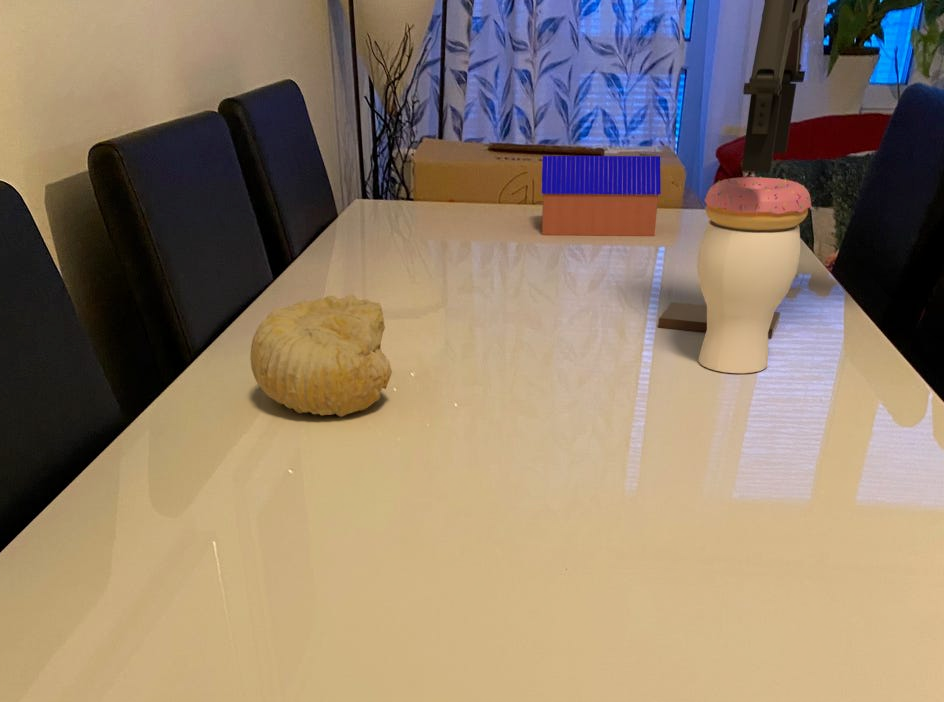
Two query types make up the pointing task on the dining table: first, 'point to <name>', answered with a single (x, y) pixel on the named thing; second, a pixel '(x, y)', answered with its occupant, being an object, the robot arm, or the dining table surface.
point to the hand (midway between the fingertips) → (764, 161)
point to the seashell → (322, 355)
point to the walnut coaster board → (695, 318)
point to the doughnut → (757, 203)
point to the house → (600, 195)
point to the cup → (743, 292)
